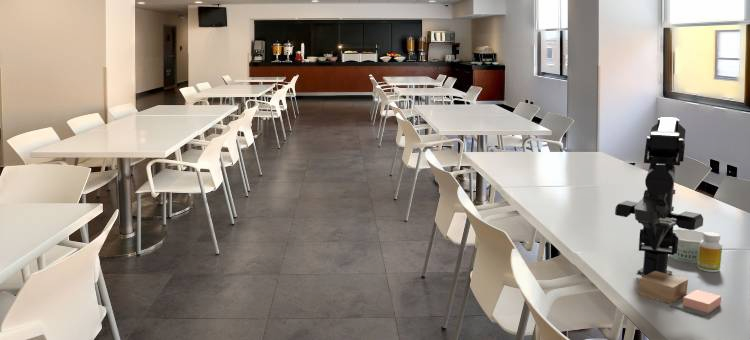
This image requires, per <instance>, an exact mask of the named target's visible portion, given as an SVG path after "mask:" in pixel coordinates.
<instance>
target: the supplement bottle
mask: <svg viewBox="0 0 750 340" xmlns="http://www.w3.org/2000/svg"><path fill="white" fill-rule="evenodd" d="M703 232H704V231H703ZM703 239H704V240H702V241H701V242H700V244H699V254H698V263H696V264H697V269H698V270H700V271H703V272H707V273H717V272H719V271H720V270H721V262H722V252H723V244H722V242H720V240H721V234H720V233H717V232H713V231H711V232H710V231H706V232H704V234H703Z"/></svg>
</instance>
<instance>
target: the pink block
mask: <svg viewBox="0 0 750 340" xmlns="http://www.w3.org/2000/svg"><path fill="white" fill-rule="evenodd" d="M719 305H720V306H721V305H722V295H719V294H714V293H711V292H707V291H704V290H701V289H695V290H693V291H692V292H689V294H687V295H686V296H685V297H684V298H683V306H687V307H690V308H693V309H697V310H700V311H704V312H707V313H708V312H710V311H711V310H713V309H714V308H716V307H717V306H719ZM720 306H719V307H720ZM717 308H718V307H717ZM717 308H716V309H717ZM714 310H715V309H714ZM714 310H713V311H714ZM711 312H712V311H711ZM711 312H710V313H711ZM708 314H709V313H708Z"/></svg>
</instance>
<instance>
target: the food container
mask: <svg viewBox="0 0 750 340" xmlns="http://www.w3.org/2000/svg"><path fill="white" fill-rule="evenodd" d="M673 232H676V236H677V237H678V248H677V254H674V255H671V254H668V256H669V257H671V259H673V260H677V261H680V262H684V263H685V262H686V263H694V264H697V263H698V254H699V244H700V242H701V241H702V240H704V239H703V234H704V231H700V230H696V229H695V230H688V229H683V228H676V229H675V228H673ZM669 247H670V246H669ZM671 248H672V247H671Z"/></svg>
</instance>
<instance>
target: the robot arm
mask: <svg viewBox="0 0 750 340" xmlns="http://www.w3.org/2000/svg"><path fill="white" fill-rule="evenodd" d="M657 118H658V117H657ZM685 141H686V128H685V127H684V126H682V125H681V124H680V119H679V118H677V117H664V116H663V117H660V118H658V119H657V123H656V124H654V126H652V127H651V129H650V133H649V136H646V141H645V149H644V157H643V164H649V165H648V171H647V174H646V176H645V180H644V182H645V187H646V189H645V190H644V192H643V197H642V199H639V201H638V202H637V201H631V200H625V201H622V202H619V203H617V205H616V206H615V209H614V215H615V216H619V217H623V218H628V217H629V216H631V215H632V214H633V215H634V219H635V221H637V223H639V224H641V225H642V226H643V227H640V230H639V238H638V240H639V241H638V251H639V252H642V251H643V252H644V253H643V264H642V266H643V267H642V268H640V269H637V270H636V271H637V274H640V275H643V276H645V275H647V274H649V273H651V272H653V271H658V272H662V273H665V274H669V275H672V274H673V271H672V270H669V269H668V261H669V254H671V255H674V254H677V248H678V237H677V236H676V232H673V229H674V227H675V226H677V227H678V229H687V230H695V231H696V230H697V229H699V228H700V227H702V226H704V217H703V214H701V213H697V212H691V211H687V210H686V211H684V212H681V213H674V210H675V206H673V199H674V195H675V194H676V189H674V188H675V187H674V186H675V177H676V167H675V166H681V163H683V162H684V157H685V148H686V143H685ZM669 246H670V247H669ZM671 247H672V248H671Z"/></svg>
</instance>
